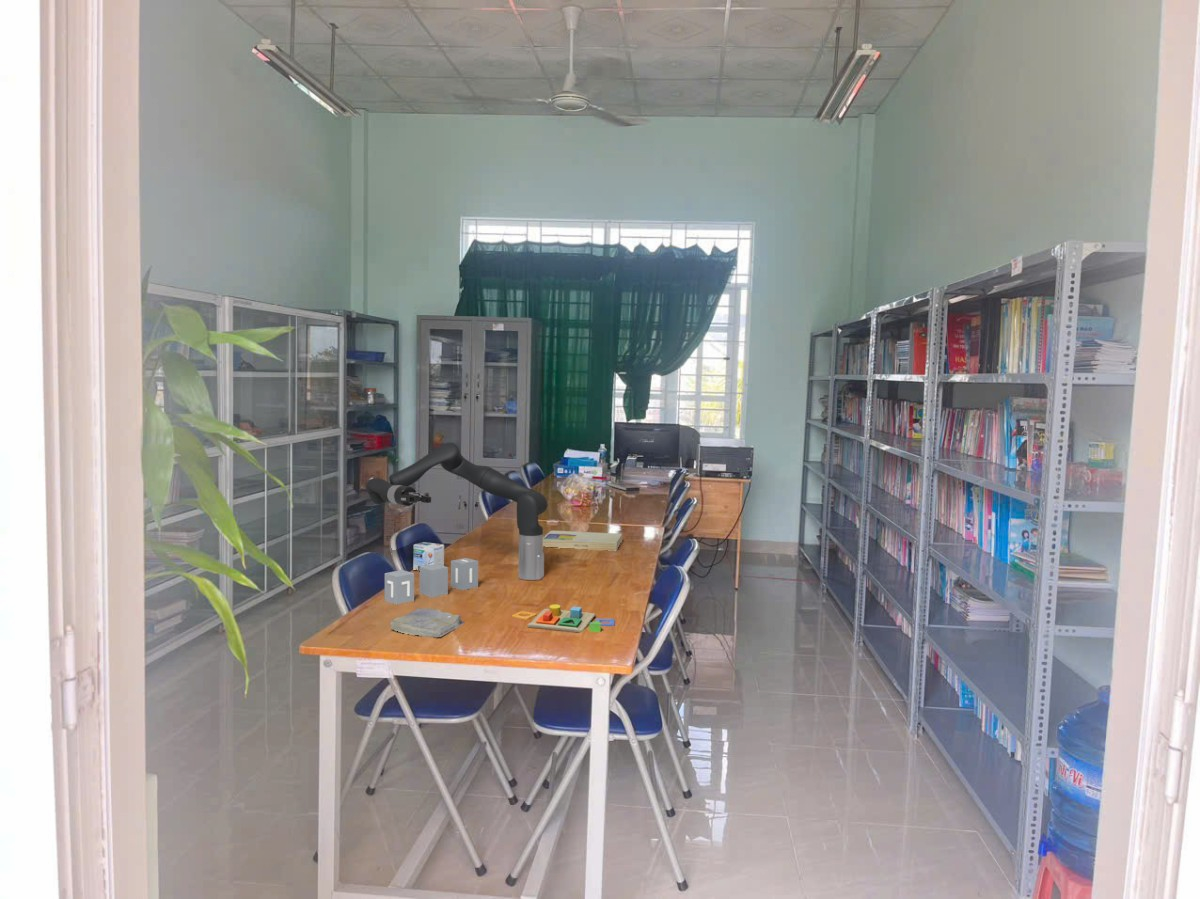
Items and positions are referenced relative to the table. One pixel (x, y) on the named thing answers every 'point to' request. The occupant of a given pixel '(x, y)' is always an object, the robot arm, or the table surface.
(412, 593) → the block marked 7
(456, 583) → the block marked 1
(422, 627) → the fossil
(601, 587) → the table surface
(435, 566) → the plain block
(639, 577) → the table surface
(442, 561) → the light bulb box
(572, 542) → the puzzle box
